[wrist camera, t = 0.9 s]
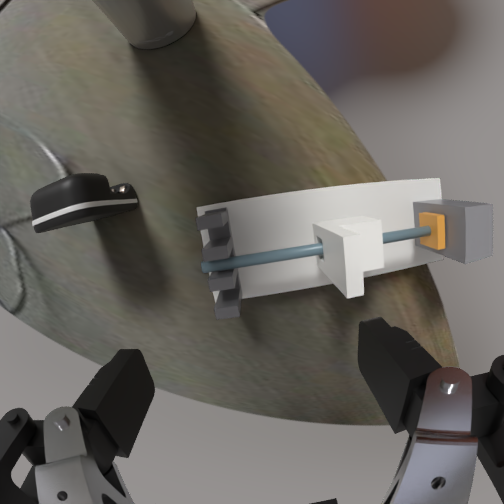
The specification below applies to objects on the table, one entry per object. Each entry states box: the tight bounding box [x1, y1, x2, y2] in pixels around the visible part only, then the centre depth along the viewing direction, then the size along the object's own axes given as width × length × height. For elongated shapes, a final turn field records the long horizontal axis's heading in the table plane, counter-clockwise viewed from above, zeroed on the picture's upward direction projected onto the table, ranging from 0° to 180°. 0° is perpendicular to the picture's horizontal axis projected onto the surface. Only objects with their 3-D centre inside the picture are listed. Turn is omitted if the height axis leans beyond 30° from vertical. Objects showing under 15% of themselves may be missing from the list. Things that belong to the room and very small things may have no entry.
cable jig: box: [196, 178, 493, 320], centre depth 23 cm, size 10×28×10 cm, turn 99°
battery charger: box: [30, 173, 138, 233], centre depth 22 cm, size 7×4×11 cm, turn 100°
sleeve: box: [312, 216, 384, 298], centre depth 20 cm, size 4×5×8 cm
